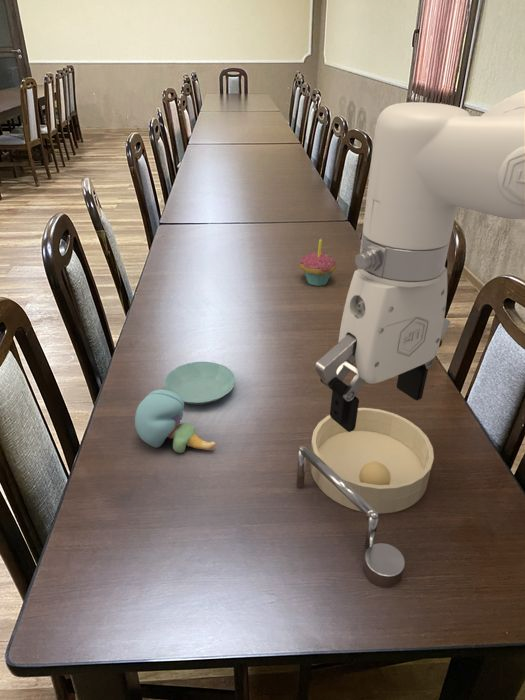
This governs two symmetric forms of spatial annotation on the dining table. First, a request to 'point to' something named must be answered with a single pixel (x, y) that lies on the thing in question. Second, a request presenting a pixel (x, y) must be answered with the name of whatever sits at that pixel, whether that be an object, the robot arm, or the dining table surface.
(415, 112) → the robot arm
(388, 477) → the tan ball
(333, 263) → the cupcake
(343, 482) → the ladle
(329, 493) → the bowl
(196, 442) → the multicolor toy piece
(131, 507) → the dining table surface
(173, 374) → the saucer
